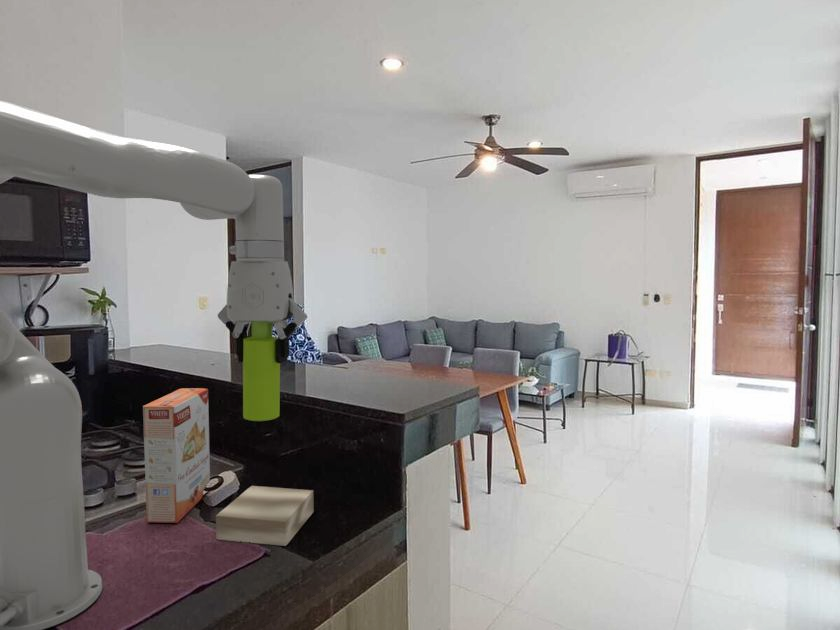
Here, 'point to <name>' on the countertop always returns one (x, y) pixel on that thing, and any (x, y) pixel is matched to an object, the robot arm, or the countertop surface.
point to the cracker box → (176, 453)
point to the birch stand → (265, 515)
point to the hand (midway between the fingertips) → (263, 360)
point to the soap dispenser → (260, 374)
